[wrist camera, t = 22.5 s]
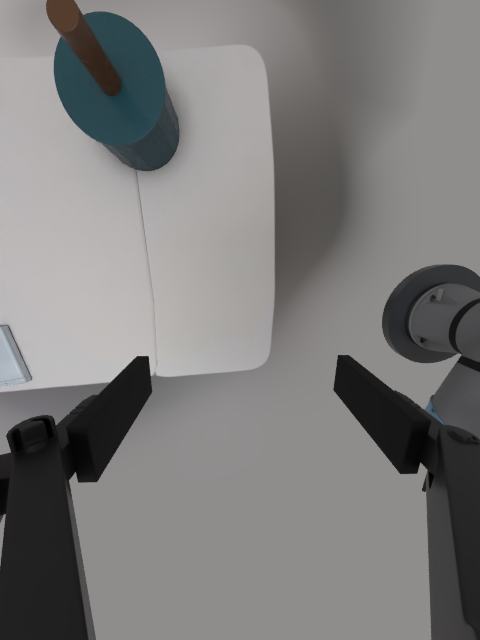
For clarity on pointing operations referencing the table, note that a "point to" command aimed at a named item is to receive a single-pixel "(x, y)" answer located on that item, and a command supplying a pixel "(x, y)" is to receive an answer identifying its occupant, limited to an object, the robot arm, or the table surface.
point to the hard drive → (11, 361)
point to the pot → (152, 143)
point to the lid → (106, 74)
